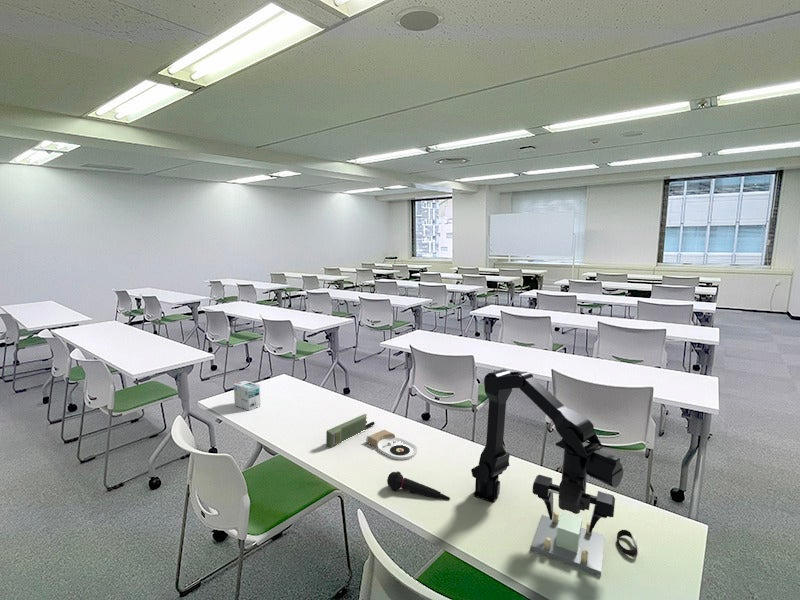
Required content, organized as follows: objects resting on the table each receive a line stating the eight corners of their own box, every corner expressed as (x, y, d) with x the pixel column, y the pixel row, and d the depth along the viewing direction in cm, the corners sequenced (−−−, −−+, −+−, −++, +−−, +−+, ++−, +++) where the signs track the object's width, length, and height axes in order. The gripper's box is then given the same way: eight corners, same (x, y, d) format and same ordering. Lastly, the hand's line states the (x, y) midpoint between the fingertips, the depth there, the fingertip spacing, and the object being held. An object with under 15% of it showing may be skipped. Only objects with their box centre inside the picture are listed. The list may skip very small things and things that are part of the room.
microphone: (449, 505, 126) (388, 485, 131) (453, 486, 126) (392, 466, 132) (446, 511, 120) (383, 489, 126) (450, 491, 121) (387, 470, 127)
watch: (641, 560, 101) (643, 547, 100) (620, 556, 102) (621, 543, 102) (632, 539, 108) (633, 526, 108) (613, 535, 109) (614, 523, 109)
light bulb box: (261, 406, 191) (260, 384, 189) (249, 411, 185) (248, 388, 184) (246, 401, 196) (245, 379, 195) (233, 406, 191) (233, 383, 189)
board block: (555, 545, 103) (557, 527, 103) (560, 529, 110) (561, 511, 109) (577, 553, 101) (578, 534, 100) (580, 535, 107) (582, 518, 106)
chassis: (530, 550, 103) (531, 536, 103) (541, 518, 115) (542, 506, 115) (600, 576, 96) (602, 561, 95) (604, 539, 108) (606, 526, 107)
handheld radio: (324, 446, 155) (370, 424, 174) (330, 449, 153) (376, 427, 172) (325, 429, 154) (371, 409, 173) (330, 432, 152) (376, 412, 171)
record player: (386, 427, 165) (423, 445, 151) (385, 434, 165) (423, 453, 152) (364, 436, 157) (401, 456, 143) (363, 444, 157) (401, 465, 143)
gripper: (529, 472, 100) (525, 531, 102) (615, 496, 91) (609, 560, 93) (538, 452, 110) (535, 506, 112) (617, 473, 101) (612, 531, 103)
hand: (570, 525), depth 105 cm, fingers open, 9 cm apart
